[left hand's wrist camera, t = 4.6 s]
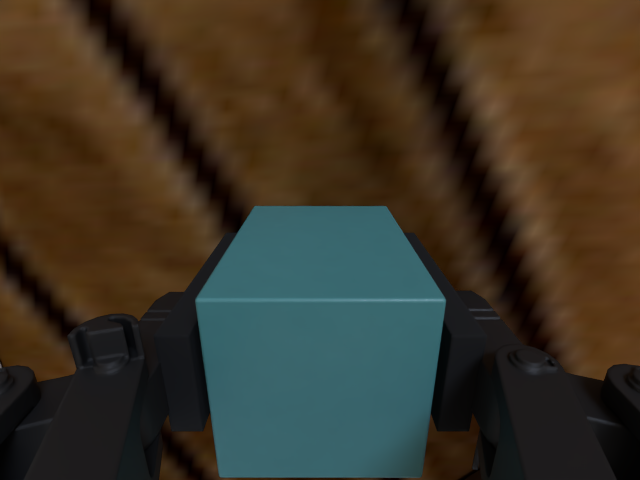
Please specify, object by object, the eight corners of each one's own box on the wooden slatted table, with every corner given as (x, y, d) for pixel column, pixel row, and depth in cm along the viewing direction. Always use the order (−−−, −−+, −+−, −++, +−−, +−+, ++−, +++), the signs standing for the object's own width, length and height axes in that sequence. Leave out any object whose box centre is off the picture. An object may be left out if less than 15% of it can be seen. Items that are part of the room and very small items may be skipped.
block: (386, 205, 14) (447, 299, 7) (379, 319, 15) (422, 479, 9) (253, 205, 14) (193, 299, 7) (261, 319, 15) (218, 479, 9)
